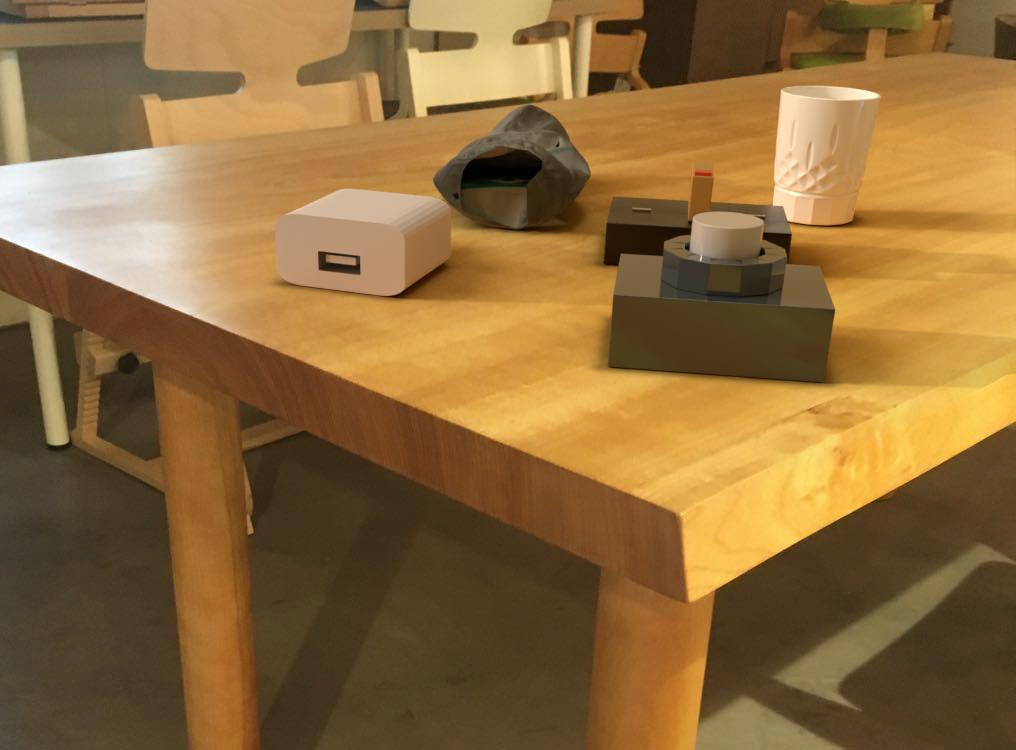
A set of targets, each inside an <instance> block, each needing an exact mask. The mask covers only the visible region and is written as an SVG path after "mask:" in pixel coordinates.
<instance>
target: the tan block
mask: <svg viewBox="0 0 1016 750" xmlns="http://www.w3.org/2000/svg"><path fill="white" fill-rule="evenodd" d="M714 180H715V176H714V164H713V162H709V161H708V162H707V161H692V162H691V171H690V184H689V191H688V200H687V201H688V221H692V218H693V217H694V216H695V215H697V214H700V213H705V212H710V207H711V202H712V199H713V188H714Z"/></svg>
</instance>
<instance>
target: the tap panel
mask: <svg viewBox="0 0 1016 750" xmlns="http://www.w3.org/2000/svg"><path fill="white" fill-rule="evenodd" d="M710 212H734V213H742V214H747V215H752V216H755V217H757V218H760V219H761V220H763V222H764V228H763V236H762V240H766V241H768V242H770V243H773V244H775V245H777V246H779V247H782V248H784V249H785V252H786V255H787V262H786V264H789V260H790V253H791V252H790V251H791V245H792V238H793V233H792V230H791V227H790V224H789V223H790V222H789V221H788V220H787V217H786V214H785V211H784V207H783V206H773V204H772V205H770V204H754V203H735V202H721V201H720V202H718V201H711V207H710ZM691 227H692V221H688V200H685V199H684V200H683V199H666V198H647V197H646V198H645V197H633V196H632V197H631V196H612V198H611V203H610V207H609V212H608V216H607V220H606V227H605V241H604V242H605V243H604V253H603V264H604V265H610V266H611V265H612V266H619V260H620V255H621V254H634V255H650V256H663V249H664V242H665V241H667V240H670V239H673V238H676V237H679V236H684V235H691Z"/></svg>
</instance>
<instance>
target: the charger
mask: <svg viewBox="0 0 1016 750" xmlns="http://www.w3.org/2000/svg"><path fill="white" fill-rule="evenodd" d="M274 234H275V237H274V238H275V253H276V255H275V256H276V258H275V259H276V271H277V275H278V276H279V277H280V278H281V279H283V280H284V281H285V282H287V283H290V284H292V285H297V286H303V287H310V288H318V289H325V290H334V291H341V292H347V293H348V292H349V293H358V294H364V295H365V294H367V295H374V296H383V297H389V296H396V295H398V294H401V293H402V292H403V291H405V290H406V289H408V288H409V287H410V286H412V285H414V284H415V283H416V282H418V281H419V280H420V279H423V277H425V276H426V275H428V274H430V273H432V271H434V270H435V269H437V268H438V267H439V266H441V265H442V264H444V263H445V262H447V261H448V259H450V257H451V254H452V207H451V205H450V204H449V203H448V202H447V201H444V200H443V199H440V198H437V197H434V196H428V195H420V194H408V193H399V192H389V191H381V190H370V189H359V188H341V189H338V190H335V191H334V192H332V193H330V194H327V195H325V196H323V197H321V198H318V199H315V200H314V201H312V202H310V203H308V204H305V205H303V206H301V207H299V208H296V209H294V210H292V211H290V212H287V213H286V214H284V215H282V216H280V217H278V218H277V219H275V223H274Z"/></svg>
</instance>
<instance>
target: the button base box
mask: <svg viewBox="0 0 1016 750" xmlns="http://www.w3.org/2000/svg"><path fill="white" fill-rule="evenodd" d="M690 237H691V235H684V236H679V237H676V238H673V239H670V240H667V241H665V242H664V249H663V256H650V255H634V254H621V255H620V260H619V265H617V272H616V278H615V283H614V287H613V293H612V305H611V316H610V317H611V318H610V319H611V320H610V328H609V329H610V332H609V343H608V356H607V367H608V368H621V369H623V368H624V369H634V370H647V371H663V372H676V373H689V374H702V375H714V376H715V375H717V376H729V377H744V378H758V379H772V380H785V381H798V382H810V383H811V382H812V383H824V382H825V377H826V372H827V371H826V370H827V364H828V358H829V352H830V346H831V339H832V335H833V327H834V321H835V315H836V307H835V305H834V303H833V302H834V301H833V299H832V297H831V293H830V291H829V288H828V286H827V283H826V279H825V277H824V274H823V272H822V269H821V266H820V265H811V264H810V265H807V264H795V263H794V264H793V263H792V264H791V263H788V264H786V262H787V255H786V252H785V249H784V248H782V247H779V246H777V245H775V244H773V243H770V242H768V241H766V240H762V243H761V251H760V257H758V258H751V259H740V260H735V259H719V258H711V257H706V256H702V255H697V254H694V253H692V252H690V251H689V246H690Z"/></svg>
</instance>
